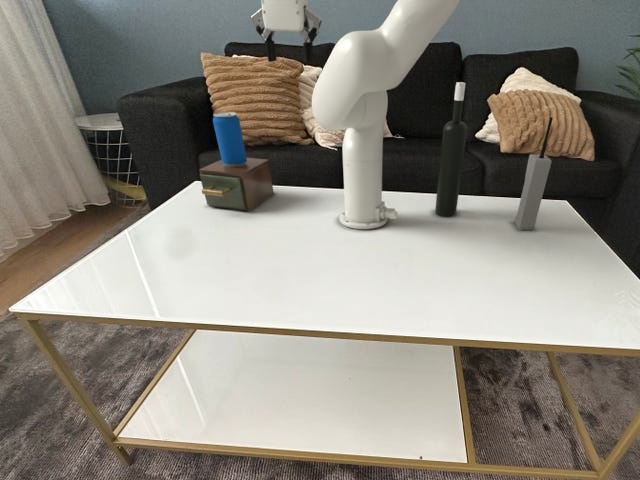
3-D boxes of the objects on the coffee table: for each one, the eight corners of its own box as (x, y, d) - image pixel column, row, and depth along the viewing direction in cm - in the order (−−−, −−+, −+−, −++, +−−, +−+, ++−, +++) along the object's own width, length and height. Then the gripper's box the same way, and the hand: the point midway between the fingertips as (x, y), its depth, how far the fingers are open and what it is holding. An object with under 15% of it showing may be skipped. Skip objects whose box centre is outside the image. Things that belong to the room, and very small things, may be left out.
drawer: (236, 214, 106) (229, 183, 101) (197, 209, 108) (189, 179, 103) (268, 193, 119) (263, 165, 114) (233, 189, 121) (227, 161, 116)
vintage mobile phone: (527, 222, 108) (554, 114, 91) (533, 230, 104) (563, 118, 88) (513, 222, 108) (538, 114, 91) (519, 230, 104) (546, 118, 88)
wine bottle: (459, 212, 113) (477, 82, 93) (450, 218, 109) (467, 84, 89) (440, 208, 115) (454, 80, 95) (431, 214, 111) (444, 82, 92)
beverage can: (250, 161, 113) (241, 112, 105) (242, 168, 108) (232, 116, 100) (228, 160, 113) (217, 111, 106) (219, 167, 109) (207, 115, 101)
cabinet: (249, 211, 110) (241, 174, 104) (208, 206, 113) (199, 169, 107) (274, 194, 121) (268, 159, 115) (236, 189, 124) (229, 155, 117)
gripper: (323, -34, 89) (329, 62, 100) (252, -34, 92) (265, 59, 103) (310, -38, 84) (317, 65, 95) (235, -37, 87) (250, 61, 98)
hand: (290, 62), depth 99 cm, fingers open, 9 cm apart
